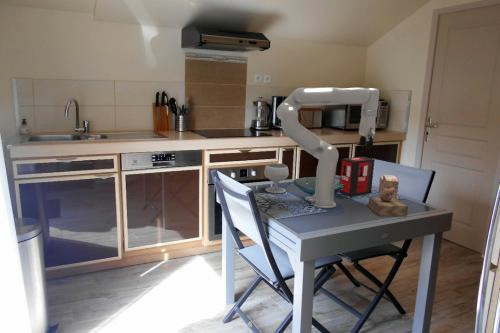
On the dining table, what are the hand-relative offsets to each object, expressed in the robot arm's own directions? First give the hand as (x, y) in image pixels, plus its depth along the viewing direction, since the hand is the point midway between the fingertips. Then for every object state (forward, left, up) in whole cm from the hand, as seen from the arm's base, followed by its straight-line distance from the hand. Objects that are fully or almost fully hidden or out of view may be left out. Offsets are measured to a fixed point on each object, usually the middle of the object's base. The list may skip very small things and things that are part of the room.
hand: (365, 147), depth 195 cm
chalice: (-42, +22, -31) cm, 56 cm away
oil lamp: (+10, -10, -26) cm, 29 cm away
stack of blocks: (+20, +14, -31) cm, 39 cm away
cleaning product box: (+4, +20, -31) cm, 37 cm away
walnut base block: (+10, -11, -30) cm, 34 cm away
